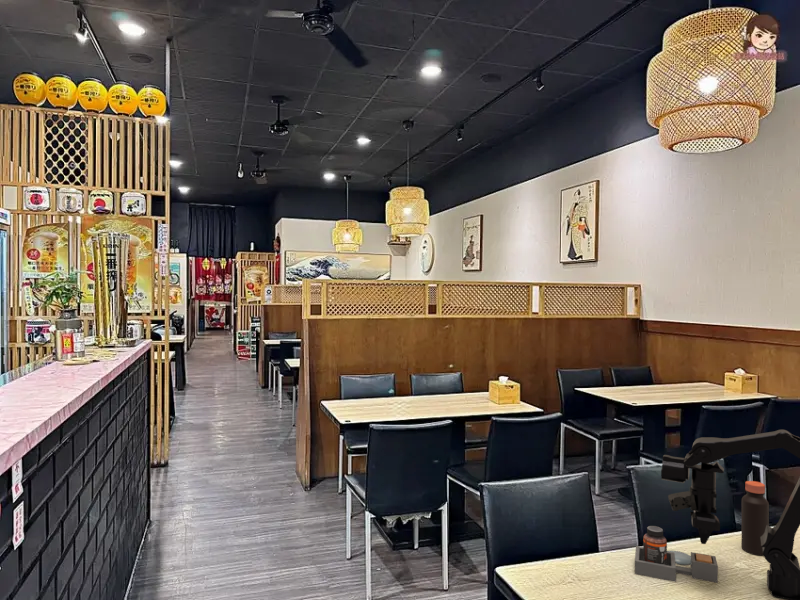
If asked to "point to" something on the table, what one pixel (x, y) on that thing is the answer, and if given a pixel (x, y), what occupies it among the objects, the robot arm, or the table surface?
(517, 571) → the table surface
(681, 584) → the table surface
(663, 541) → the supplement bottle
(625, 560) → the table surface
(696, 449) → the robot arm
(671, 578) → the holder
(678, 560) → the coaster
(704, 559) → the orange-brown cube
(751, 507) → the vinegar
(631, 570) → the table surface
